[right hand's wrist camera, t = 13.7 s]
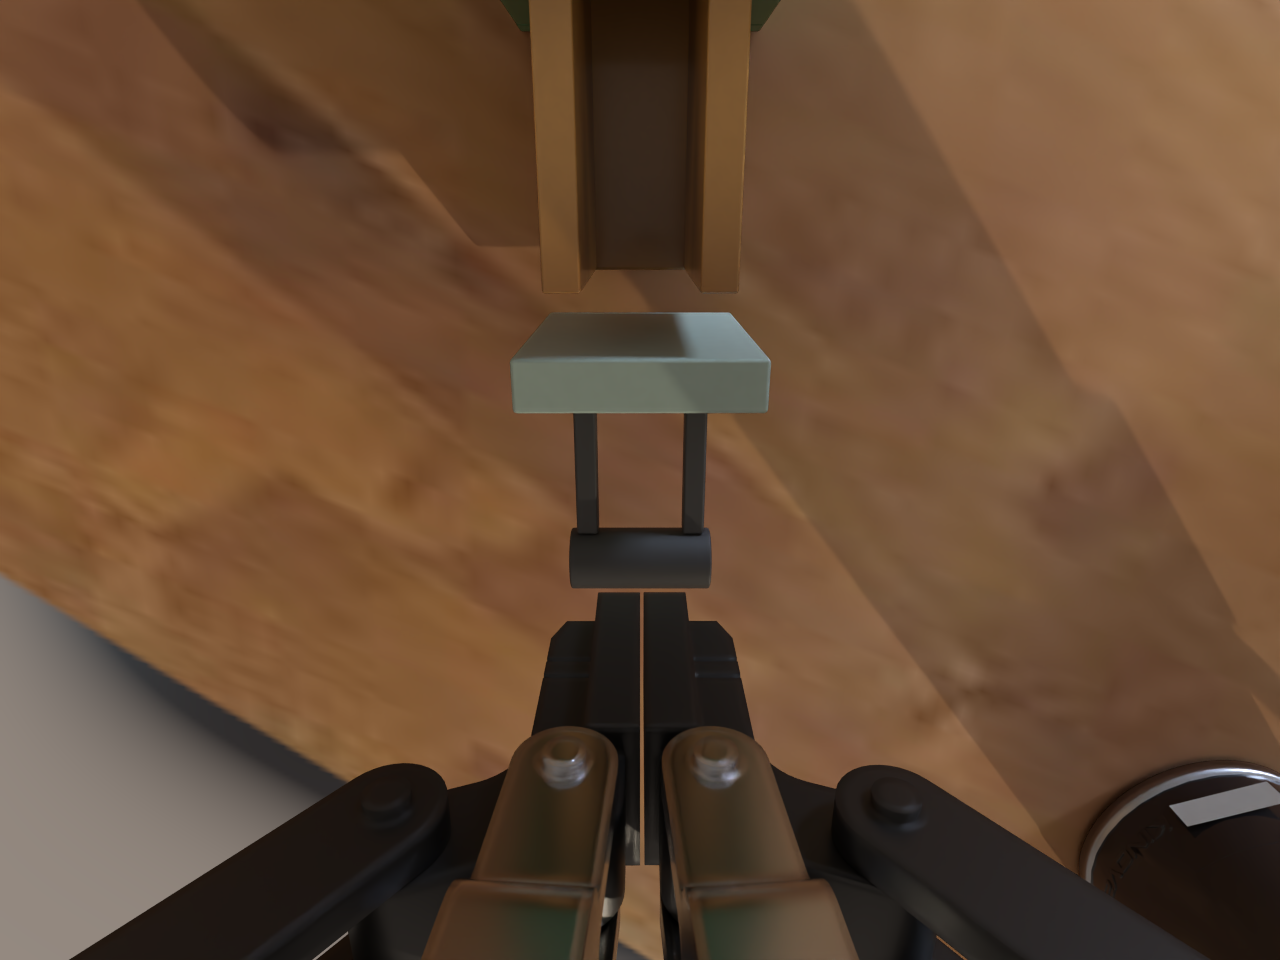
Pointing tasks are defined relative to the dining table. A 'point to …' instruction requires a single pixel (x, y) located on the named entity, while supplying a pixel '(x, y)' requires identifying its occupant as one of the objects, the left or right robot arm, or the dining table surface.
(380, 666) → the dining table surface
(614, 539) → the drawer
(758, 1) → the cabinet
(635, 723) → the right robot arm
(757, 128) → the dining table surface
